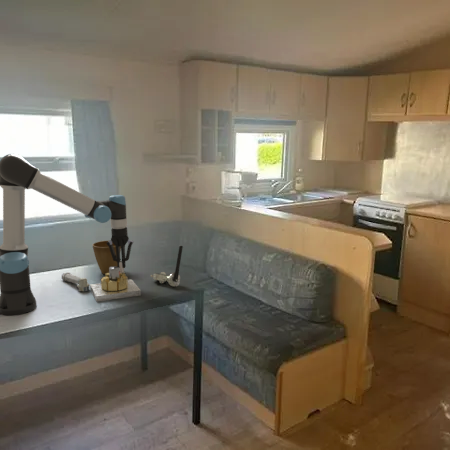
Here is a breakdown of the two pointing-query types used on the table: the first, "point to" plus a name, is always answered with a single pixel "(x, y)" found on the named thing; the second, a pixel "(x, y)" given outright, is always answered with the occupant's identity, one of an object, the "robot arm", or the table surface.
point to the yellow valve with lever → (114, 282)
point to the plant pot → (104, 256)
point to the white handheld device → (76, 281)
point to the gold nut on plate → (109, 295)
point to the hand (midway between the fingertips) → (122, 274)
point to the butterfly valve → (174, 277)
